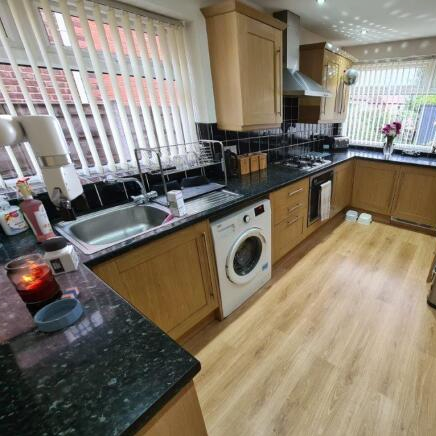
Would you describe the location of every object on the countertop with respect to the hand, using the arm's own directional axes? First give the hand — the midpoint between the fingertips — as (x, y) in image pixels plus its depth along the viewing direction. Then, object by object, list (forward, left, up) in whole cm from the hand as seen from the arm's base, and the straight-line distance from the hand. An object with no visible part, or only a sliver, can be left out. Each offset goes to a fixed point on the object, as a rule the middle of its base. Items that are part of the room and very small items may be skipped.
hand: (77, 215), depth 78 cm
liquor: (-34, +47, -26) cm, 64 cm away
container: (-16, +15, -26) cm, 34 cm away
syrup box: (+24, +58, -26) cm, 68 cm away
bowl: (-6, -17, -26) cm, 31 cm away
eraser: (-7, -7, -26) cm, 28 cm away
